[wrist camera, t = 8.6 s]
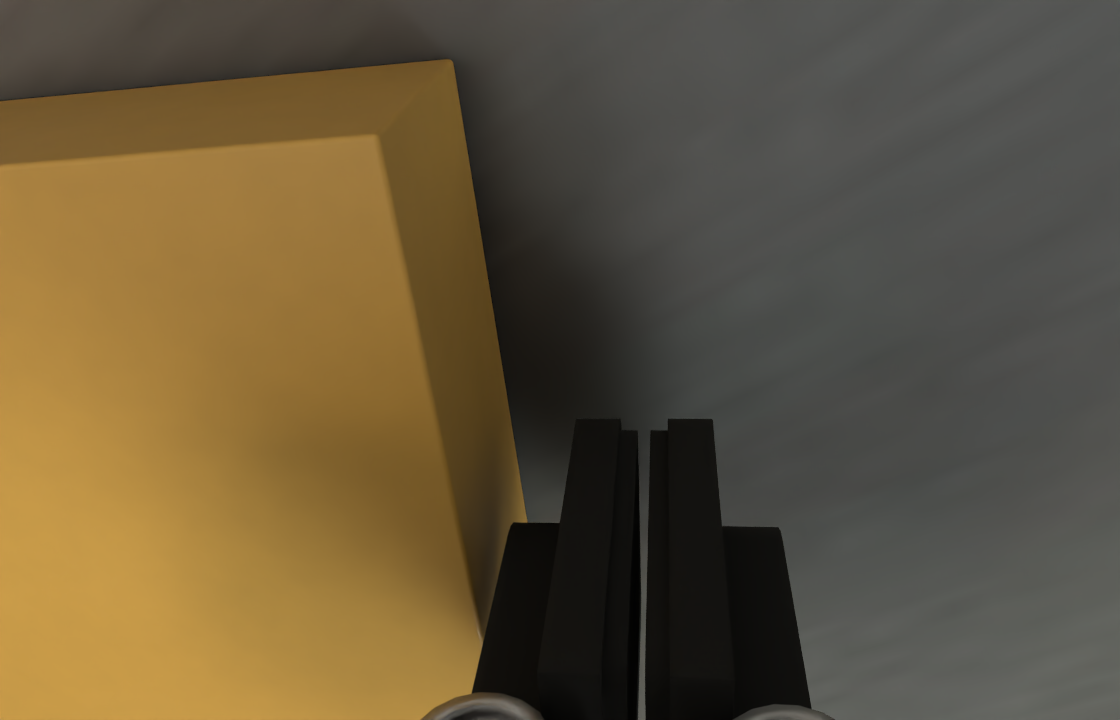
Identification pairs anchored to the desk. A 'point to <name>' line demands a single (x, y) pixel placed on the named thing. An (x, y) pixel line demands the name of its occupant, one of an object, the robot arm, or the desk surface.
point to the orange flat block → (247, 401)
